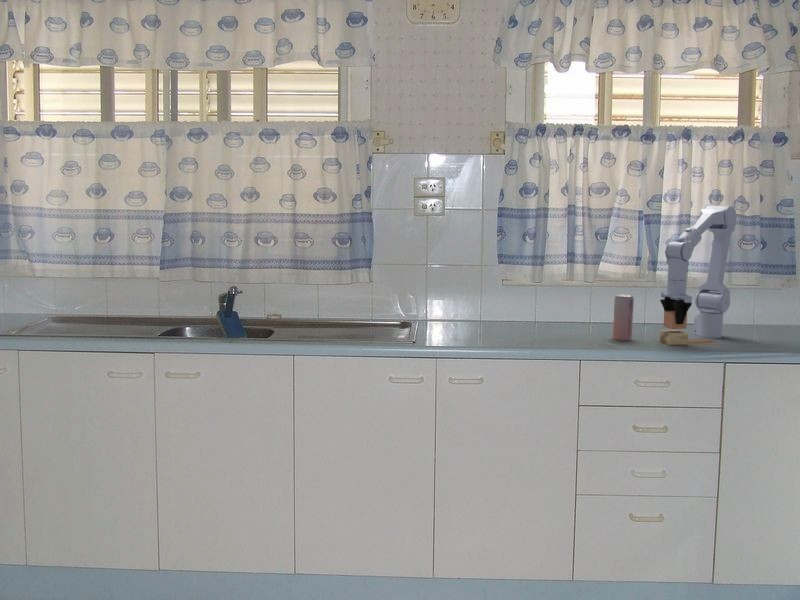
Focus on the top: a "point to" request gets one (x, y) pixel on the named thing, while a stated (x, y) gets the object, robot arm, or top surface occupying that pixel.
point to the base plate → (693, 342)
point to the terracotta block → (673, 321)
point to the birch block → (673, 337)
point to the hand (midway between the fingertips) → (674, 322)
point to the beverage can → (623, 317)
